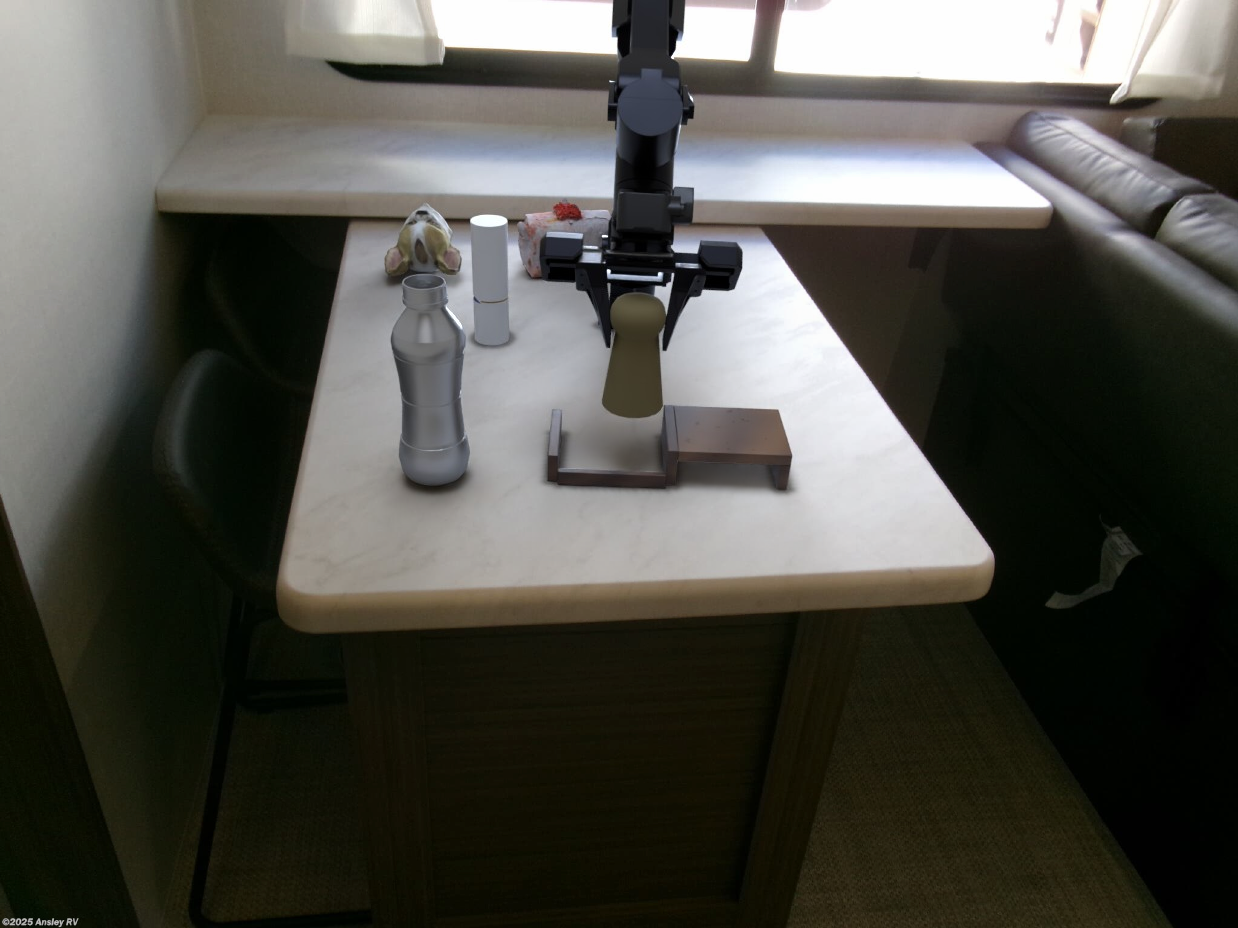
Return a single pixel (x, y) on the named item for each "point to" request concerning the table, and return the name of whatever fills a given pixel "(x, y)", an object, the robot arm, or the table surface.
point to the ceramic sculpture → (424, 245)
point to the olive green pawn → (635, 357)
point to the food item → (559, 230)
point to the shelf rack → (692, 446)
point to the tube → (490, 278)
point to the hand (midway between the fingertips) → (636, 348)
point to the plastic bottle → (430, 383)
